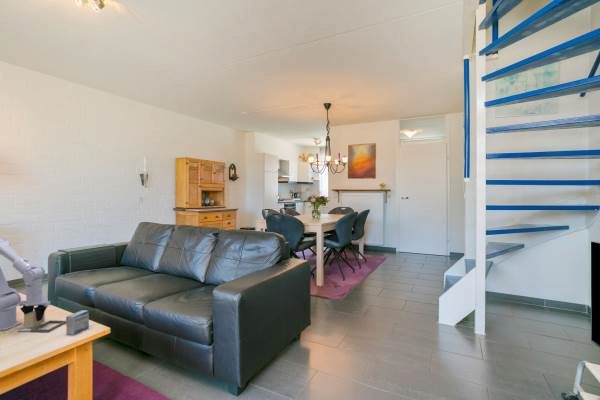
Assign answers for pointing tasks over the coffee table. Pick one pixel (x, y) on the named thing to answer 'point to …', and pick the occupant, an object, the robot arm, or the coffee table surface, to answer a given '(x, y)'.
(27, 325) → the box
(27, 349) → the coffee table surface
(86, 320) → the medicine box
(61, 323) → the grey square frame
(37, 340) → the coffee table surface
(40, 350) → the coffee table surface
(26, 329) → the pad
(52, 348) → the coffee table surface
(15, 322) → the robot arm
